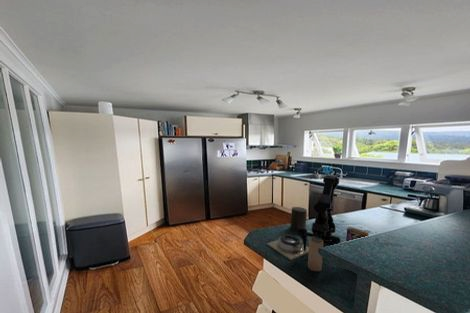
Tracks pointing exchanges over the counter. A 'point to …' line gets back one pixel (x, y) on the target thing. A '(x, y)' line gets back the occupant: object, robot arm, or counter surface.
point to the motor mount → (289, 246)
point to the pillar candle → (298, 218)
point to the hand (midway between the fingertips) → (314, 254)
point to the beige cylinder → (315, 254)
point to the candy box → (355, 233)
